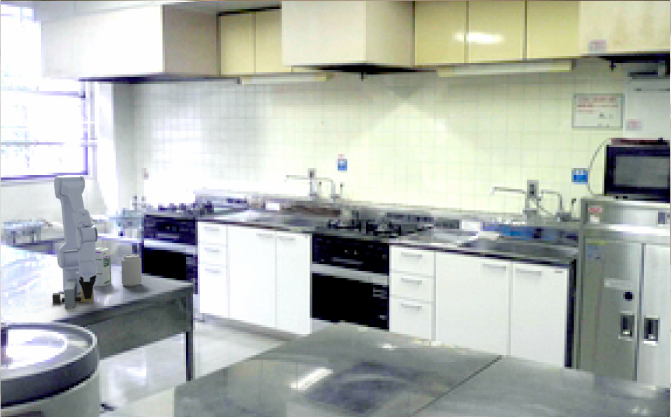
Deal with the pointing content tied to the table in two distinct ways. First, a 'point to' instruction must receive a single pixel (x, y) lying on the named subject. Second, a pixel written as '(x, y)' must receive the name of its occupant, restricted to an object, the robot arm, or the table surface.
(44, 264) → the table surface
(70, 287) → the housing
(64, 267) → the robot arm
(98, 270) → the syrup box
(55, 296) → the plug
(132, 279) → the can
